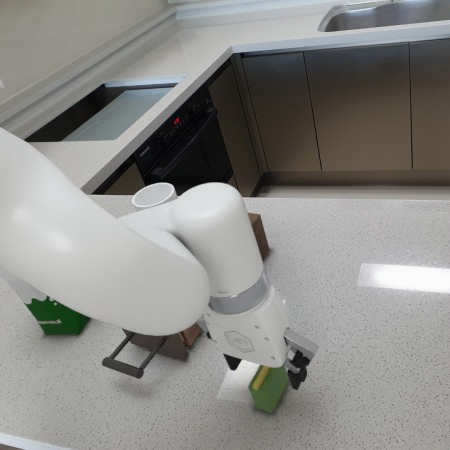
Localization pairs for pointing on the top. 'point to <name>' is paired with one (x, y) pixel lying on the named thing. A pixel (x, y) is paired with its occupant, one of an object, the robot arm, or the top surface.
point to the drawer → (153, 348)
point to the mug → (154, 196)
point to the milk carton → (46, 308)
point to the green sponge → (268, 387)
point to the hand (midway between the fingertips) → (268, 371)
